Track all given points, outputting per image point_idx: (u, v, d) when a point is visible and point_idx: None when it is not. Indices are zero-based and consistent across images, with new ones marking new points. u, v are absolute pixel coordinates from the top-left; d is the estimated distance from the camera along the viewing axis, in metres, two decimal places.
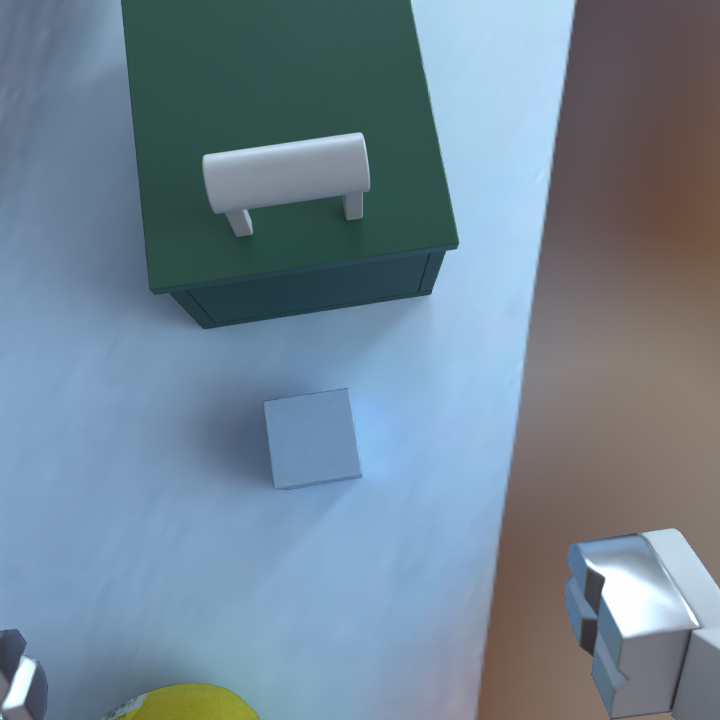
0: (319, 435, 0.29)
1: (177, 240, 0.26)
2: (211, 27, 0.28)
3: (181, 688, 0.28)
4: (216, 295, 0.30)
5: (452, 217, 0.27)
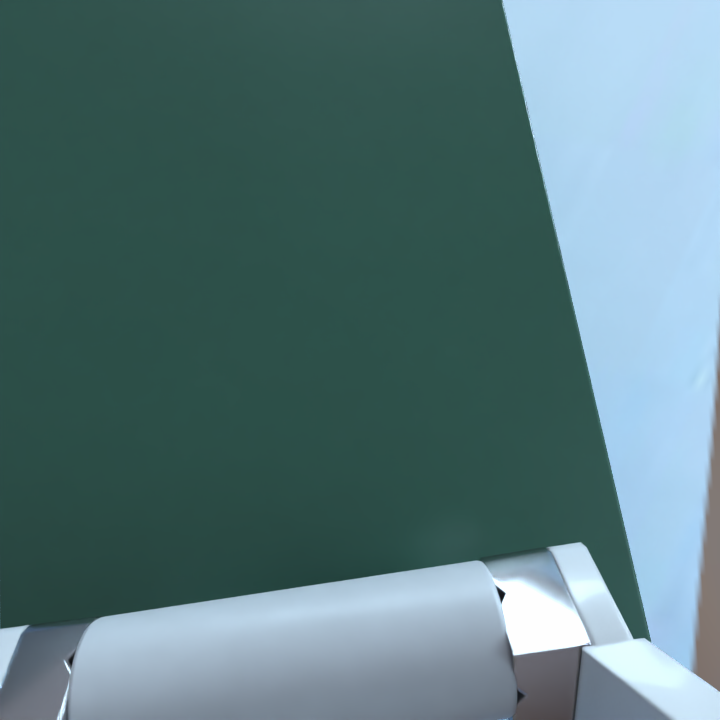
0: None
1: None
2: (158, 199, 0.15)
3: None
4: None
5: (642, 617, 0.13)
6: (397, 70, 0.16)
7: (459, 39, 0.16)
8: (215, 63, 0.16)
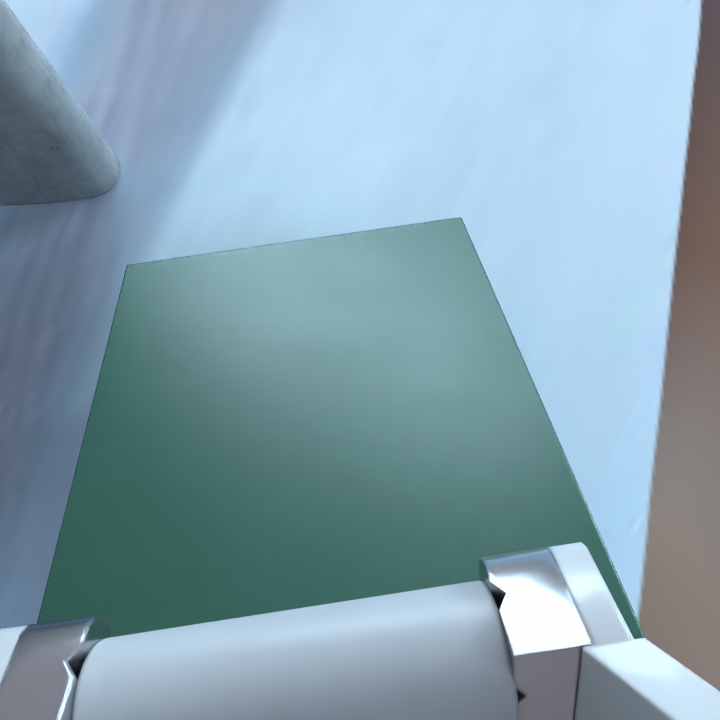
0: None
1: None
2: (219, 405, 0.18)
3: None
4: None
5: None
6: (410, 319, 0.20)
7: (456, 299, 0.21)
8: (273, 321, 0.21)
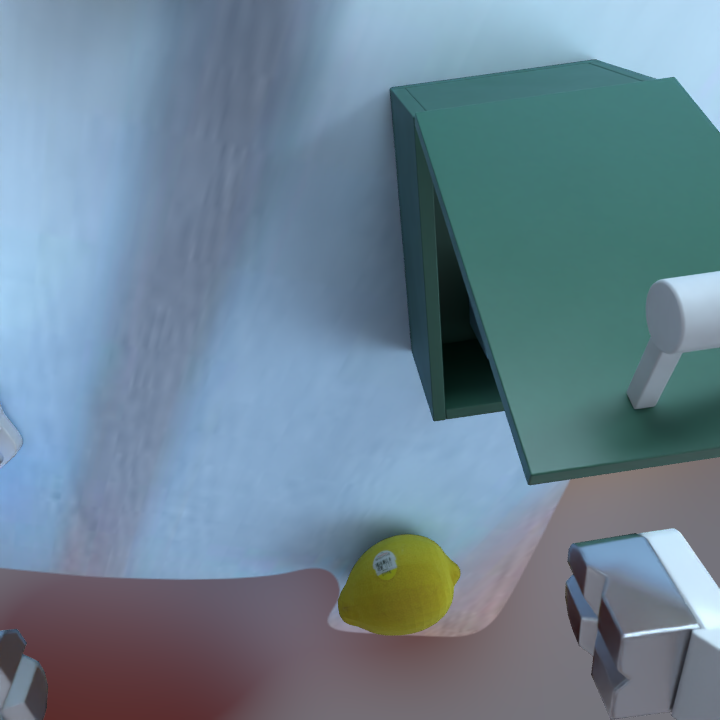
0: None
1: (554, 414, 0.20)
2: (542, 207, 0.26)
3: (411, 551, 0.54)
4: None
5: None
6: (661, 151, 0.28)
7: (692, 137, 0.28)
8: (556, 152, 0.28)
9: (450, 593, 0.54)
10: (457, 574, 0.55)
